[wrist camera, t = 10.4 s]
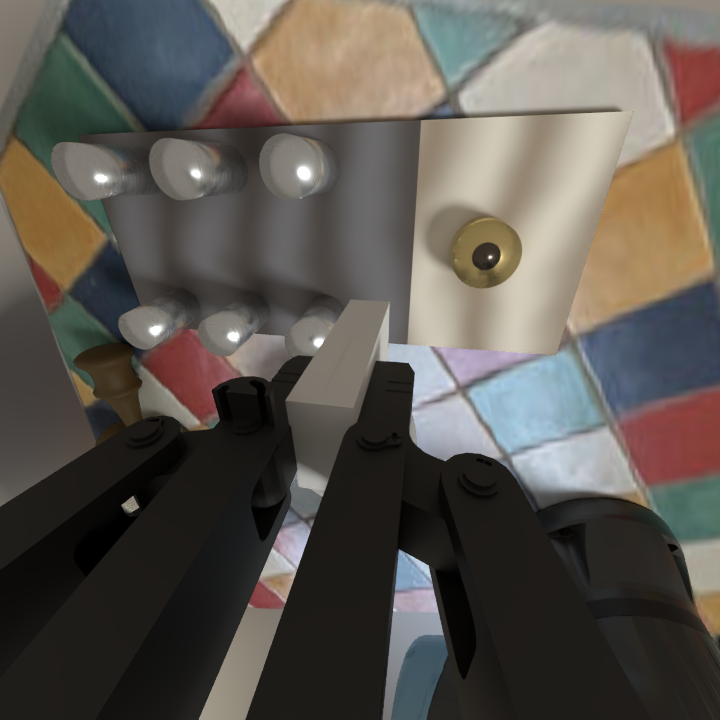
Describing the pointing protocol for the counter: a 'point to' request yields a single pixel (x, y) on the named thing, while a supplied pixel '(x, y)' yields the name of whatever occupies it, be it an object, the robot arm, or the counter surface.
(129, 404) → the kendama
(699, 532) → the counter surface
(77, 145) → the steel spacers
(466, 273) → the brass knob
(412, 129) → the board
